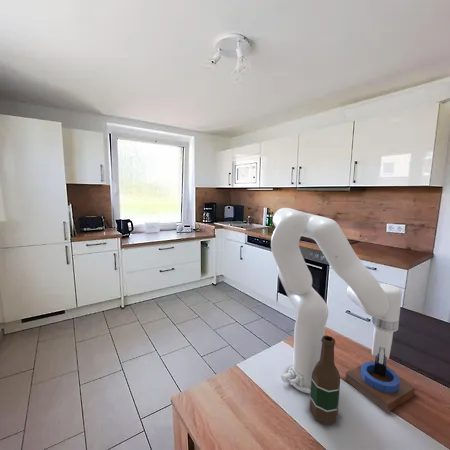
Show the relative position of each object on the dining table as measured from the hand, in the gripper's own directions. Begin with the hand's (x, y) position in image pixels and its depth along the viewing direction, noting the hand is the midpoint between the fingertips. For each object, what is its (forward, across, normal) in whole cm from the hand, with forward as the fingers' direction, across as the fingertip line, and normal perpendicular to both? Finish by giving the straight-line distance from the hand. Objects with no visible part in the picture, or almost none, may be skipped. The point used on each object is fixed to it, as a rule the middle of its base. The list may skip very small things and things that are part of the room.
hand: (379, 370), depth 84 cm
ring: (0, +4, 0) cm, 5 cm away
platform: (+3, +4, 0) cm, 6 cm away
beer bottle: (+3, +25, -13) cm, 28 cm away
